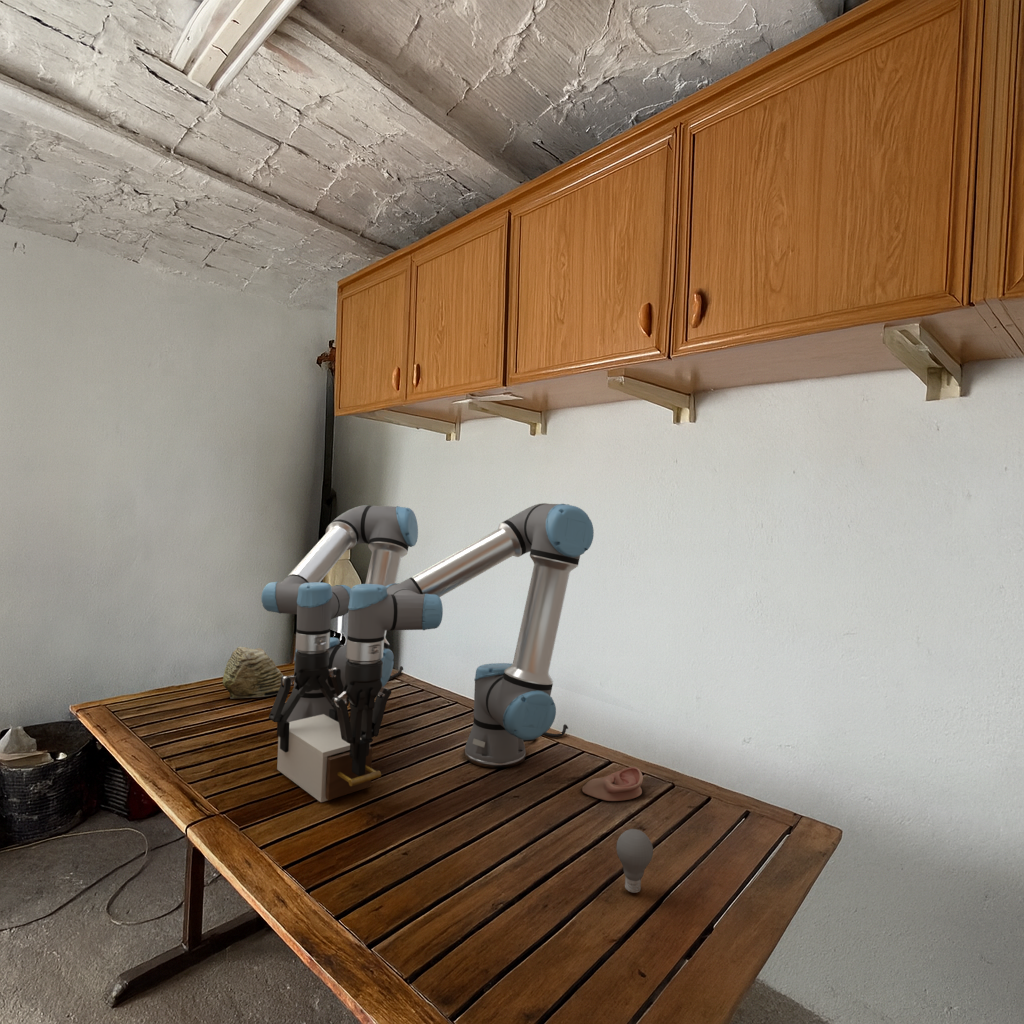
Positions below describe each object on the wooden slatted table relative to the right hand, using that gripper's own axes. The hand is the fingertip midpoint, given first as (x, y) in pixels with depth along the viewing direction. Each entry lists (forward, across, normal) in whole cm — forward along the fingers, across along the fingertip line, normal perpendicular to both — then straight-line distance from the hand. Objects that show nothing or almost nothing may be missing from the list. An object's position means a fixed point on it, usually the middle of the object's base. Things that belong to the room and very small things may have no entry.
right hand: (358, 772), depth 131 cm
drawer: (+6, 0, +10) cm, 11 cm away
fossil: (+7, +13, +82) cm, 83 cm away
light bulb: (+6, +19, -55) cm, 59 cm away
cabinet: (+7, 0, +16) cm, 17 cm away
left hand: (+1, 0, +22) cm, 22 cm away
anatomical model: (+6, +47, -31) cm, 56 cm away
